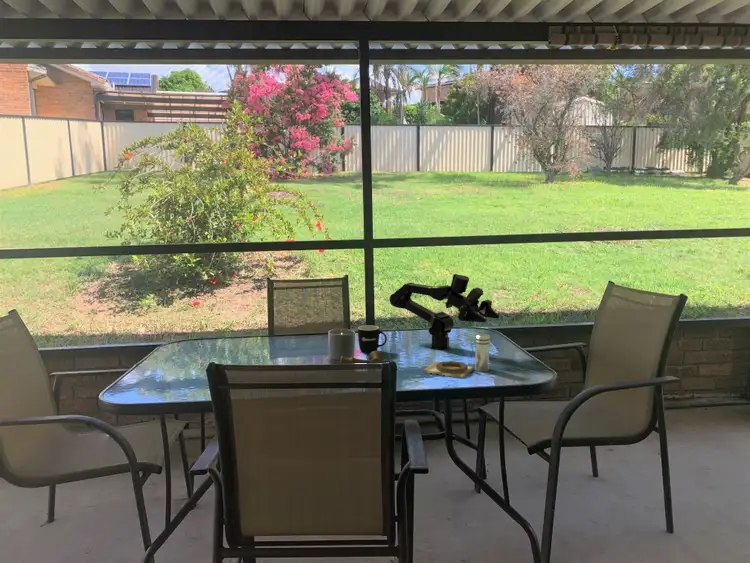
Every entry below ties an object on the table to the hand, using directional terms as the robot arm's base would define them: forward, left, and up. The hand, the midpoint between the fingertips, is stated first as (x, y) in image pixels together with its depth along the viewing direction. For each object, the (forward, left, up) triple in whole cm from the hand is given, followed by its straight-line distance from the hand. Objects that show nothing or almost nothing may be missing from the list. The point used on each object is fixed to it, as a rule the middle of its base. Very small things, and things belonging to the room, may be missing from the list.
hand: (492, 319), depth 235 cm
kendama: (-38, -33, -17) cm, 53 cm away
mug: (-47, -11, -16) cm, 51 cm away
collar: (-10, -22, -16) cm, 29 cm away
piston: (+1, -15, -16) cm, 22 cm away
